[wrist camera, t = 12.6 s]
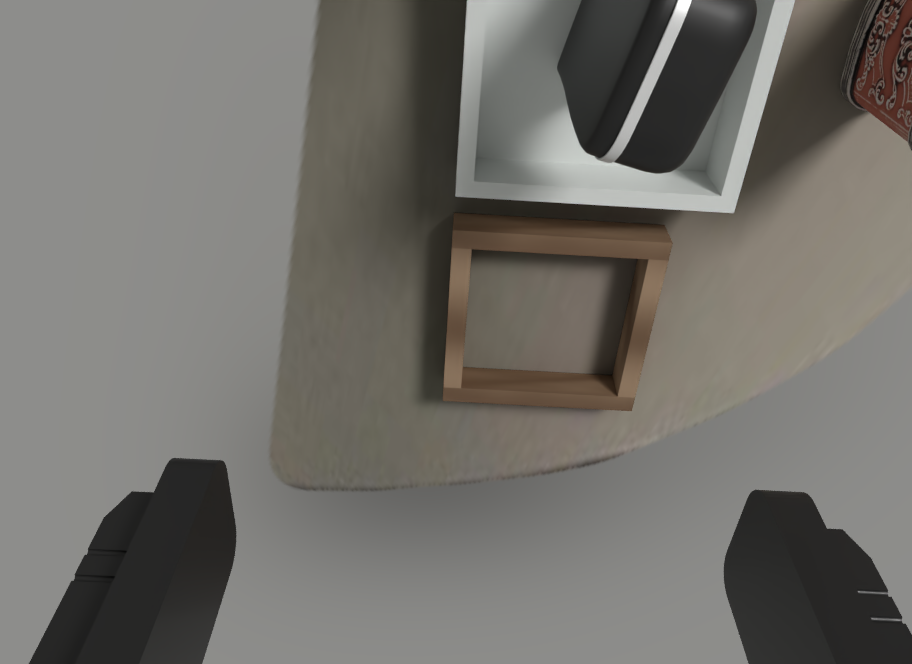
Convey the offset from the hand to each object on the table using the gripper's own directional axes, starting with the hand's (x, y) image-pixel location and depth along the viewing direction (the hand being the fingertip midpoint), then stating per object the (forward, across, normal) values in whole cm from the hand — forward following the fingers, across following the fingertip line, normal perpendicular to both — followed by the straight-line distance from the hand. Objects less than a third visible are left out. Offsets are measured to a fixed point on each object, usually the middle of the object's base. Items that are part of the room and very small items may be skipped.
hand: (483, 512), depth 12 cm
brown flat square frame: (+28, -5, +14) cm, 32 cm away
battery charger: (+28, -6, -2) cm, 28 cm away
